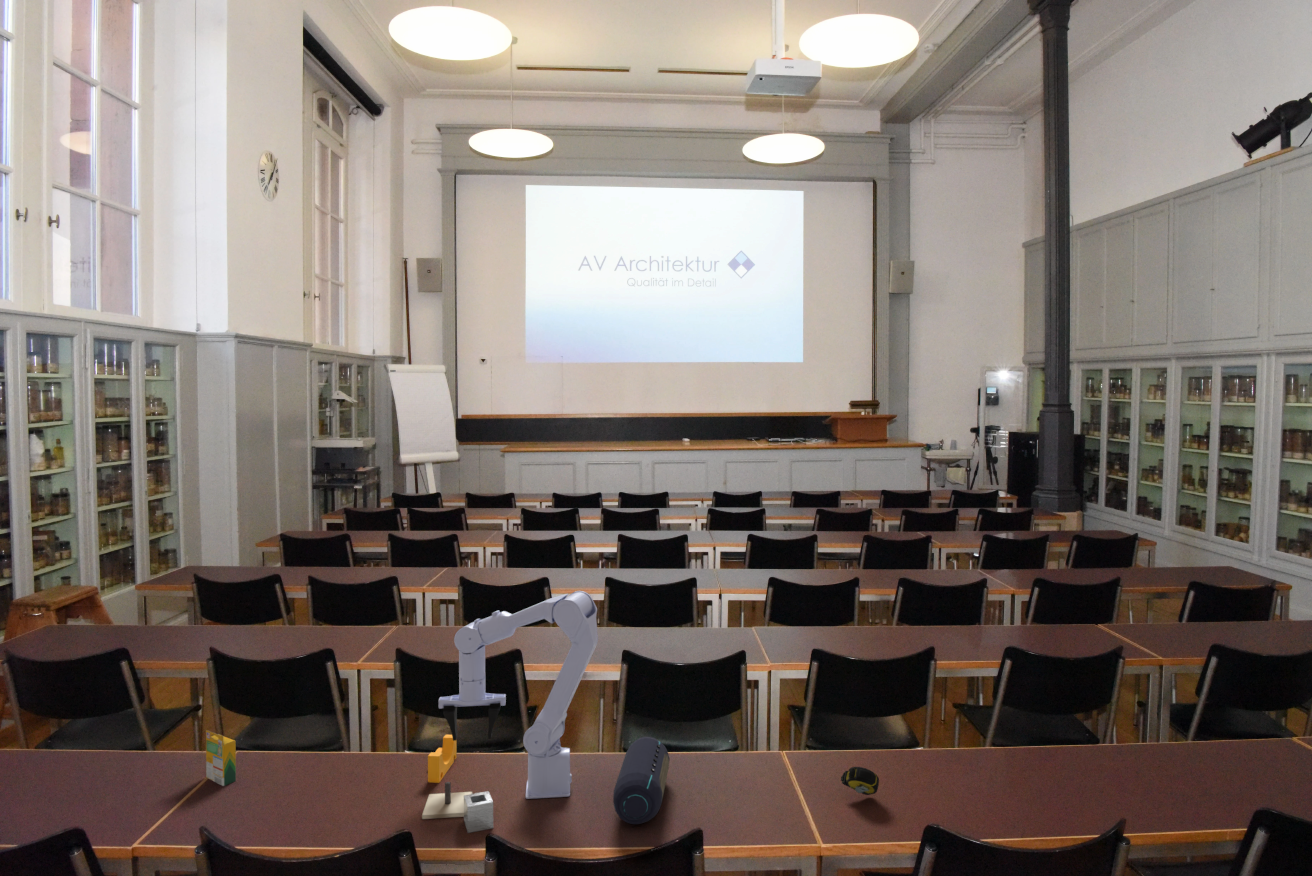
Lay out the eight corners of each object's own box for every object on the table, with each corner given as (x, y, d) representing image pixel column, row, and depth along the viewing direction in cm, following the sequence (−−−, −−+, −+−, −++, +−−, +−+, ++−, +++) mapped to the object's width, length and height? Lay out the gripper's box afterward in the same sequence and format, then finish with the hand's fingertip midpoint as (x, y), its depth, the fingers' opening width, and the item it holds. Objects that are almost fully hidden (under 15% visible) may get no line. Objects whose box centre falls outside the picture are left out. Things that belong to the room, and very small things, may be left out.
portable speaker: (660, 833, 153) (660, 782, 153) (610, 830, 154) (609, 780, 154) (671, 775, 178) (671, 731, 178) (627, 773, 179) (627, 730, 179)
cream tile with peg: (472, 795, 168) (472, 772, 168) (467, 816, 159) (467, 792, 159) (429, 797, 167) (429, 774, 167) (422, 819, 158) (421, 794, 158)
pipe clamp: (438, 761, 186) (438, 734, 186) (456, 761, 185) (456, 734, 185) (420, 784, 174) (420, 755, 174) (439, 785, 173) (439, 756, 173)
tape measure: (868, 801, 168) (871, 784, 170) (882, 793, 162) (885, 776, 165) (838, 787, 168) (842, 770, 170) (852, 779, 163) (855, 762, 165)
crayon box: (236, 783, 174) (236, 732, 174) (223, 789, 171) (222, 736, 171) (219, 775, 178) (218, 725, 178) (205, 781, 175) (204, 729, 175)
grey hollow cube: (488, 816, 159) (488, 791, 159) (493, 828, 155) (493, 802, 155) (463, 821, 157) (463, 795, 157) (467, 833, 153) (467, 806, 153)
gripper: (506, 670, 179) (506, 729, 179) (441, 673, 177) (442, 732, 177) (504, 680, 172) (504, 741, 172) (436, 683, 170) (437, 745, 170)
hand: (472, 737), depth 174 cm, fingers open, 7 cm apart
